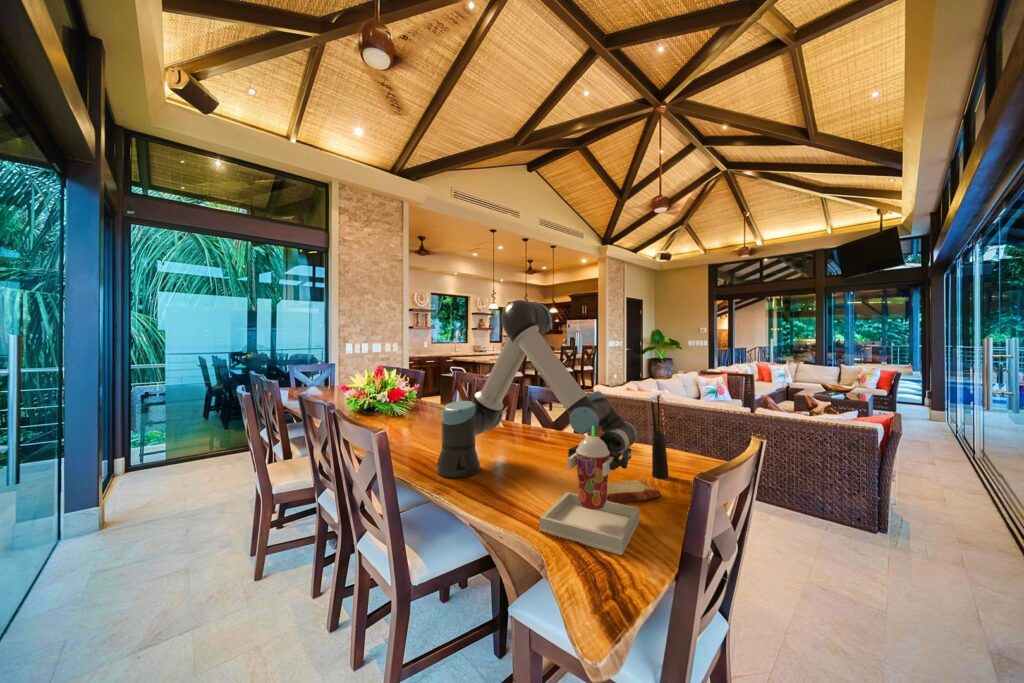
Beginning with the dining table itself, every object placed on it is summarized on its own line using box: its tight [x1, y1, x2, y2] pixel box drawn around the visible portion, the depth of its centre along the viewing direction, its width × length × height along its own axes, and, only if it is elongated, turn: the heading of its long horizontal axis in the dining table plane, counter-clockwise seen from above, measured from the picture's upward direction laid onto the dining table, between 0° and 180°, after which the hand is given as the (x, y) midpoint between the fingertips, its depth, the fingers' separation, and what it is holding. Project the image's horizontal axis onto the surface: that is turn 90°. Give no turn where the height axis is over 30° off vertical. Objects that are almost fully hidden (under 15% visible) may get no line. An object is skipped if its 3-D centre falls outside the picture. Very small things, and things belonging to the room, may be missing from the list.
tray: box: [539, 492, 641, 556], centre depth 100 cm, size 20×18×4 cm
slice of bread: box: [606, 479, 662, 504], centre depth 119 cm, size 18×18×4 cm
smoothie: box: [576, 426, 610, 510], centre depth 100 cm, size 8×8×20 cm
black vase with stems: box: [651, 394, 669, 480], centre depth 136 cm, size 9×10×28 cm
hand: (586, 467), depth 96 cm, fingers closed on smoothie, 8 cm apart
